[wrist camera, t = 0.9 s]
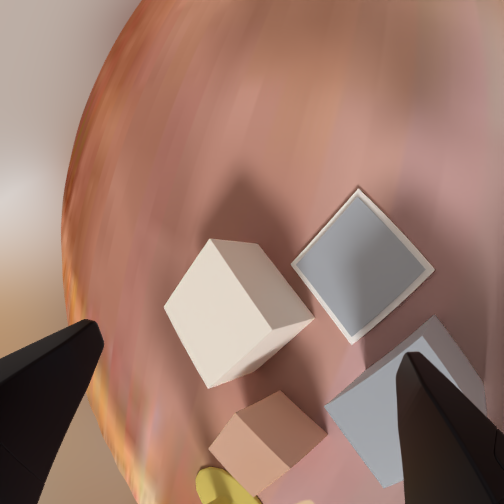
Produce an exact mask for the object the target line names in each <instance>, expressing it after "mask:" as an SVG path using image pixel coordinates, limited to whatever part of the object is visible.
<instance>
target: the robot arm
mask: <svg viewBox="0 0 504 504" xmlns="http://www.w3.org/2000/svg"><path fill="white" fill-rule="evenodd" d="M103 348H104V340H103V338H102V335H101V332H100V329H99V327H98V324H97V323H96V322H95V321H93V320H88V319H84V320H81V321H79V322H77V323H75V324H73V325H71V326H68V327H66V328H64V329H62V330H60V331H58V332H56V333H53V334H52V335H49V336H47V337H45V338H43V339H41V340H39V341H37V342H34V343H32V344H30V345H28V346H26V347H24V348H22V349H20V350H18V351H15V352H13V353H11V354H9V355H7V356H5V357H3V358H1V359H0V504H37V503H38V501H39V498H40V495H41V493H42V490H43V487H44V485H45V484H44V483H45V482H46V479H47V476H48V474H49V472H50V469H51V467H52V464H53V462H54V460H55V457H56V454H57V452H58V450H59V448H60V446H61V443H62V441H63V439H64V436H65V434H66V432H67V430H68V428H69V425H70V423H71V421H72V419H73V417H74V415H75V413H76V411H77V408H78V406H79V404H80V402H81V400H82V398H83V396H84V394H85V392H86V390H87V388H88V386H89V383H90V381H91V378H92V376H93V373H94V370H95V368H96V365H97V363H98V360H99V358H100V355H101V353H102V350H103ZM396 396H397V421H398V433H399V441H400V449H401V458H402V468H403V479H404V492H405V504H504V434H503V433H502V432H501V431H500V430H499V429H497V427H496V426H495V425H494V424H493V423H492V422H491V421H490V420H489V419H488V418H487V417H486V416H485V415H484V414H483V413H482V412H481V411H480V410H479V409H478V408H477V407H476V406H475V405H474V404H473V403H472V402H471V401H470V400H469V399H468V398H467V397H466V396H465V395H464V394H463V393H462V392H461V391H460V390H459V389H458V388H457V387H456V386H455V385H454V384H453V383H452V382H451V381H450V380H449V379H448V378H447V377H446V376H445V375H444V374H443V373H442V372H441V371H440V370H439V369H438V368H436V367H435V366H434V365H433V364H432V363H431V362H430V361H429V360H428V359H427V358H426V357H425V356H424V355H423V354H422V353H420V352H418V351H414V352H406V353H405V354H404V356H403V358H402V361H401V363H400V365H399V368H398V370H397V373H396Z"/></svg>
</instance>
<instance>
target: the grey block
mask: <svg viewBox="0 0 504 504" xmlns="http://www.w3.org/2000/svg"><path fill="white" fill-rule="evenodd" d="M414 351H418V352H420V353H422V354H423V355H424V356H425V357H426V358H427V359H428V360H429V361H430V362H431V363H432V364H433V365H434V366H435V367H436V368H438V369H439V370H440V371H441V372H442V373H443V374H444V375H445V376H446V377H447V378H448V379H449V380H450V381H451V382H452V383H453V384H454V385H455V386H456V387H457V388H458V389H459V390H460V391H461V392H462V393H463V394H464V395H465V396H466V397H467V398H468V399H469V400H470V401H471V402H472V403H473V404H474V405H475V406H476V407H477V408H478V409H479V410H480V411H481V412H482V413H483V414H484V415H485V416H486V417H487V409H486V399H485V390H484V383H483V382H482V380H481V379H480V377H479V376H478V374H477V373H476V371H475V370H474V368H473V367H472V365H471V364H470V362H469V361H468V359H467V358H466V356H465V355H464V354H463V352H462V351H461V349H460V348H459V346H458V345H457V344H456V342H455V341H454V339H453V338H452V337H451V335H450V334H449V333H448V331H447V330H446V329H445V327H444V326H443V325H442V323H441V322H440V321H439V319H438V318H437V317H436V315H435V314H434V315H433V316H432V317H431V318H429V319H428V320H427V321H426V322H425V323H424V324H423V325H422V326H420V327H419V328H418V329H417V330H416V331H415V332H413V333H412V334H411V335H410V336H409V337H408V338H406V339H405V340H404V341H403V342H401V343H400V344H399V345H398V346H397V347H395V348H394V349H393V350H391V351H390V352H389V353H388V354H386V355H385V356H384V357H383V358H381V359H380V360H379V361H377V362H376V363H375V364H373V365H372V366H371V367H369V368H368V369H366V370H365V371H364V372H363V373H362V374H361V375H360V376H359V377H358V378H356V379H355V380H354V381H353V382H352V383H351V384H350V385H349V386H348V387H346V388H345V389H344V390H343V391H342V392H341V393H339V394H338V395H337V396H336V397H335V398H334V399H332V400H331V401H330V402H329V403H328V404H326V405H325V406H324V407H325V409H326V410H327V411H328V413H329V414H330V416H331V417H332V419H333V420H334V421H335V423H336V424H337V425H338V427H339V428H340V430H341V431H342V432H343V434H344V435H345V437H346V438H347V439H348V441H349V442H350V443H351V445H352V446H353V448H354V449H355V450H356V452H357V453H358V454H359V456H360V457H361V458H362V460H363V461H364V463H365V464H366V465H367V467H368V468H369V469H370V471H371V472H372V473H373V475H374V476H375V477H376V479H377V480H378V481H379V483H380V484H381V485H382V487H383V488H386V487H388V486H391V485H393V484H396V483H398V482H400V481H403V480H404V479H403V468H402V458H401V449H400V441H399V433H398V421H397V396H396V373H397V370H398V368H399V365H400V363H401V361H402V358H403V356H404V354H405V353H406V352H414Z"/></svg>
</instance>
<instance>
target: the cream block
mask: <svg viewBox="0 0 504 504" xmlns="http://www.w3.org/2000/svg"><path fill="white" fill-rule="evenodd" d="M164 309H165V311H166V313H167V315H168V317H169V319H170V321H171V323H172V325H173V326H174V328H175V330H176V332H177V334H178V336H179V338H180V340H181V342H182V344H183V345H184V347H185V349H186V351H187V353H188V355H189V356H190V358H191V360H192V362H193V364H194V365H195V367H196V369H197V371H198V372H199V374H200V376H201V378H202V379H203V381H204V383H205V384H206V386H207V388H208V389H209V388H211V387H214V386H217V385H220V384H223V383H226V382H229V381H231V380H234V379H237V378H239V377H242V376H245V375H247V374H250V373H253V372H254V371H256V370H257V369H258V368H259V367H260V366H262V365H263V364H264V363H265V362H266V361H268V360H269V359H270V358H271V357H272V356H273V355H274V354H276V353H277V352H278V351H279V350H280V349H281V348H283V347H284V346H285V345H286V344H287V343H288V342H289V341H290V340H292V339H293V338H294V337H295V336H296V335H297V334H298V333H299V332H300V331H302V330H303V329H304V328H305V327H306V326H307V325H308V324H309V323H310V322H311V321H312V320H313V319H315V317H314V316H313V315H312V313H311V312H310V311H309V309H308V308H307V307H306V305H305V304H304V303H303V302H302V300H301V299H300V298H299V296H298V295H297V294H296V292H295V291H294V290H293V289H292V287H291V286H290V285H289V283H288V282H287V281H286V279H285V278H284V277H283V276H282V274H281V273H280V272H279V270H278V269H277V268H276V266H275V265H274V264H273V263H272V261H271V260H270V259H269V257H268V256H267V255H266V254H265V252H264V251H263V250H262V248H261V247H260V246H259V245H258V244H256V243H247V242H238V241H229V240H220V239H211V238H210V239H209V240H208V242H207V243H206V245H205V246H204V248H203V249H202V251H201V252H200V253H199V255H198V256H197V258H196V259H195V261H194V262H193V264H192V265H191V267H190V268H189V270H188V271H187V273H186V274H185V276H184V277H183V279H182V280H181V281H180V283H179V284H178V286H177V287H176V289H175V291H174V292H173V294H172V295H171V297H170V298H169V300H168V301H167V303H166V304H165V306H164Z"/></svg>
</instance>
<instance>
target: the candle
mask: <svg viewBox="0 0 504 504" xmlns="http://www.w3.org/2000/svg"><path fill="white" fill-rule="evenodd" d="M196 490H197V492H198V495H199V497H200V500H201V502H202V503H203V504H262V503H261V501H260V500H259V499H258V497H257V496H255V497H253V496H251V495H250V494H249V493H248V492H247V491H246V490H245V489H244V488H243V487H242V485H241V484H240V483H239V482H238V481H237V480H236V479H235V478H234V477H233V476H232V475H231V474H230V473H229V472H227V471H225V470H224V469H220V468H215V467H207V468H205V469H202V470H200V471H199V473H198V475H197V477H196Z"/></svg>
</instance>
